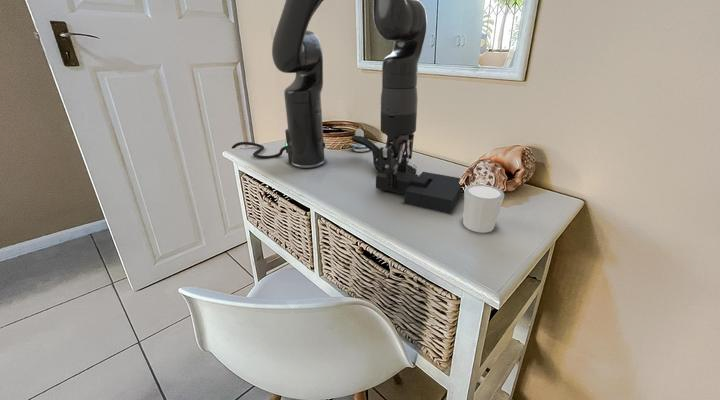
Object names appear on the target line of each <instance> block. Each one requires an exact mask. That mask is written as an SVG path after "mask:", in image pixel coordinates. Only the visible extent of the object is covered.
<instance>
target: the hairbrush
mask: <svg viewBox="0 0 720 400" xmlns="http://www.w3.org/2000/svg"><path fill="white" fill-rule="evenodd" d="M368 139H369V138H367V137H365V136H364V137H362V136H355V135H352V136H351V141H352V142H353V143H355V144H357V143H359V144H362V145H364V146H366V147H367V148H369V149H370V150H369V151H371V152H372V159H373V166H374V168H375V170H376V172H378V174H380V173H381V165H380V152H379V150H380V147H379V146H377V145H376V144H374V143H373V142H372V141H371V139H369V140H368ZM367 148H366V149H367ZM396 159H397V158H393V160H396ZM411 164H412V165H413V166H412V165H411ZM393 166H394V163H393ZM407 173H411V174H417V168H416V167H415V164H413V163H412V162H410V161H409V163H408V164H407Z"/></svg>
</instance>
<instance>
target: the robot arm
mask: <svg viewBox="0 0 720 400" xmlns="http://www.w3.org/2000/svg"><path fill="white" fill-rule="evenodd" d="M324 1H325V0H285V2H284V5H283V8H282V12H281V13H280V14H281V15H280V17H279V20H278V23H277V26H276V30H275V32H274V35H273V40H272V44H271V45H272V46H271V56H272V60H273V64H274V66H275V68H276V69H277V70H278V71H279V72H281V73H284V74H295V77H294V80H293V82H291V84H289V85H288V86H287V87H286V88H285V89H284V92H283V97H284V106H285V113H286V124H287V128H286V129H285V140H286V141H285V143H284V145H285V146H283V147H281V148H280V150H279V152H278V153H276V154H271V155H260V154H259V153H261V152H262V151H263V150H265V147H264V145H262V144H259V143H255V142H251V141H239V142H236V143H235V144H233V145H232V146H231V149H232V150H233V149H236V148H237V147H239V146H253V147H257V148H258V149H256V150H255V151H254V152H253V153H252V156H253V157H254V158H256V159H261V160H268V159H275V158H279V157H281V156H282V155H283V153H284V151H285V153H286V154H287V157H288V158H287V160H288V164H290V165H291V166H293V167H295V168H297V169H298V168H299V169H312V168H313V169H314V168H318V167H321V166H322V165H324V164H325V163H326V158H325V148H326V143H325V141H324V128H323V112H322V91H323V85H324V56H323V48H322V43H321V41H320V38H319V37H318V36H317V34H316V33H314V32H313V31H311V30H307V29H308V28H309V24H310V22H311V21H312V18H313V16H314V14H315V13H316V12H317V10H318V9H319V7H320V6H321V5H322V4H323V2H324ZM372 19H373V23H374V27H375V29H376V31H377V33H378V35H379V36H380V37H381V39H384V40H385V41H388V42H394V43H393V48H392V51H391V53H390V54H388V55H387V56H385V57H384V58H383V60H382V64H381V93H380V132H381V133H382V134H384V135H386V143H385V147H383V146H381V147H379V149H380V150H379V152H380V165H381V173H383V174H386V188H387V189H390V190H395V189H396V187H397V171H400V172H406V173H407V164H408V165H409V164H410V160H411V159H412V158H413V150H414V149H413V147H414V138H415V132H416V131H417V116H418V69H419V61H420V58H421V54H422V51H423V46H424V43H425V39H426V34H427V31H428V30H427V28H428V16H427V11H426V8H425V6H424V4H423V3H422V2H421V1H420V0H372ZM393 158H397V159H396V160H393ZM393 163H394V166H393Z"/></svg>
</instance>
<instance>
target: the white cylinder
mask: <svg viewBox="0 0 720 400" xmlns="http://www.w3.org/2000/svg"><path fill="white" fill-rule="evenodd" d="M504 198H505V193H504V191H503V190H502V189H500V188H498V187H495V186H492V185H488V184H479V183H478V184H477V183H475V184H471V185H468V186H466V187H464V191H463V216H462V224H463V226H464V227H465V228H466V229H467V230H469V231H472V232H475V233H481V234H485V233H491V232H492V231H494V229H495V226H496V224H497V220H498V217H499V215H500V210H501V207H502V205H503V201H504Z"/></svg>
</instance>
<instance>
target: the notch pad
mask: <svg viewBox="0 0 720 400" xmlns="http://www.w3.org/2000/svg"><path fill="white" fill-rule="evenodd" d="M418 176H420V177H426V178H429V185H428V186H427V187H426V188H424V187H419V186H413V185H410V186H409V187H408V188H407V189H406V190H405V194H404V199H403V200H404V202H403V203H404V204H406V205H410V206H415V207H420V208H424V209H429V210H433V211H437V212H442V213H446V214H452V212H453V210H454V209H455V207H456V205H457V203H458V202H459V200H460V198H461V196H462V195H463V194H464V191H463V190H462V192H461V187H462V185H460V184H459V183H458V182H459V180H460V178H461V177H457V176H450V175H446V174H439V173H434V172H428V171H422V172H421V173H420V174H419V175H418Z"/></svg>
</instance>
